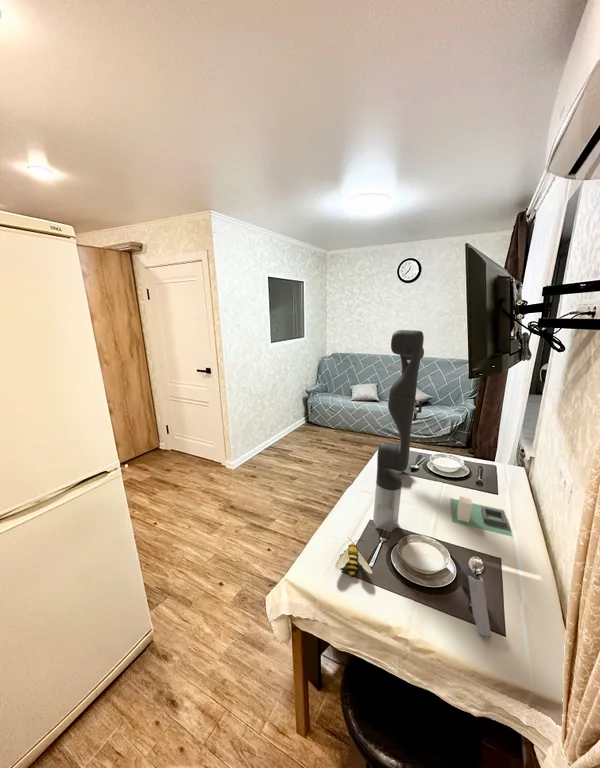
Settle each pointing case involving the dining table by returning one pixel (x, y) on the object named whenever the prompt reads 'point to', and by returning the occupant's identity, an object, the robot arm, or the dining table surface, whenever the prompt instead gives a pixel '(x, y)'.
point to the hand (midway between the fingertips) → (404, 418)
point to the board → (483, 518)
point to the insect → (352, 560)
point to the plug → (464, 509)
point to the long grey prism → (476, 600)
